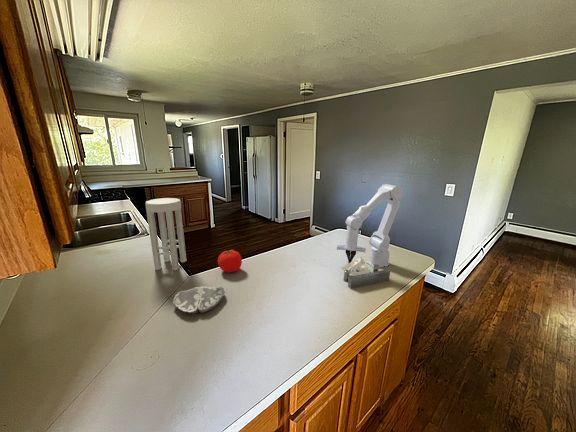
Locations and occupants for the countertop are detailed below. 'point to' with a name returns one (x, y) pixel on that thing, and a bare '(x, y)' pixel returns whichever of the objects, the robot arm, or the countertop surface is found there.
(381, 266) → the robot arm
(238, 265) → the tomato
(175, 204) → the stool
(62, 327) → the countertop surface
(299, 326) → the countertop surface
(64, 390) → the countertop surface
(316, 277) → the countertop surface
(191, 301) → the brain slice
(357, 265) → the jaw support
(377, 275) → the housing bracket
